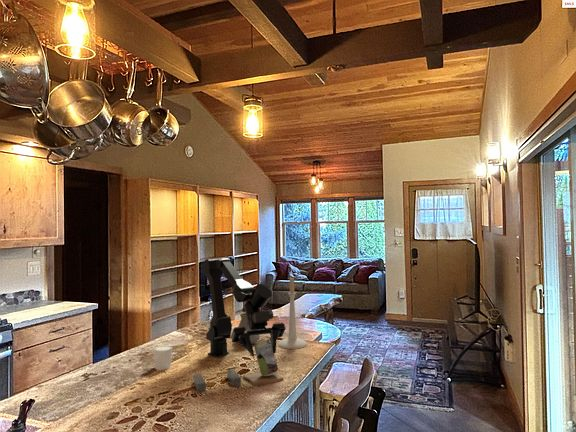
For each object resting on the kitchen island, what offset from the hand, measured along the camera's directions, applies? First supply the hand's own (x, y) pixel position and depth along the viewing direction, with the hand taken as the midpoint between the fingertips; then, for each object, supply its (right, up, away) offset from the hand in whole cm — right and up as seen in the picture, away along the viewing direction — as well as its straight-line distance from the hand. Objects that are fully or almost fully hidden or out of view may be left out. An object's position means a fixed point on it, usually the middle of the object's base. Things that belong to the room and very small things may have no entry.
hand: (264, 354), depth 134 cm
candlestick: (+10, -11, +42) cm, 45 cm away
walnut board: (0, -9, +1) cm, 9 cm away
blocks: (-15, -9, -3) cm, 18 cm away
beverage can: (+1, -8, +1) cm, 8 cm away
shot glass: (-39, -10, +14) cm, 42 cm away
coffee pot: (-9, -11, +51) cm, 53 cm away
